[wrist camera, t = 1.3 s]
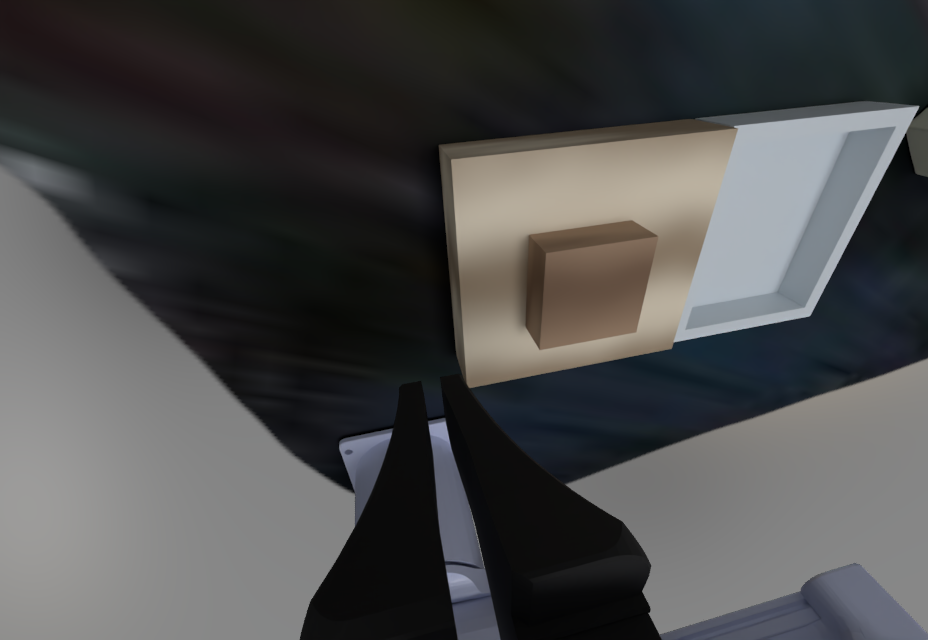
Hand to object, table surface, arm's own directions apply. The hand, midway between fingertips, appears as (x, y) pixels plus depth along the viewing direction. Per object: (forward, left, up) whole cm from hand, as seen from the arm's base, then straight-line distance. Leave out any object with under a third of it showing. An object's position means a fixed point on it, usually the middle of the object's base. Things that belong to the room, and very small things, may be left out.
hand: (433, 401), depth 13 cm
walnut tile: (0, -8, -6) cm, 10 cm away
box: (0, -20, -9) cm, 22 cm away
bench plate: (0, -8, -9) cm, 13 cm away
